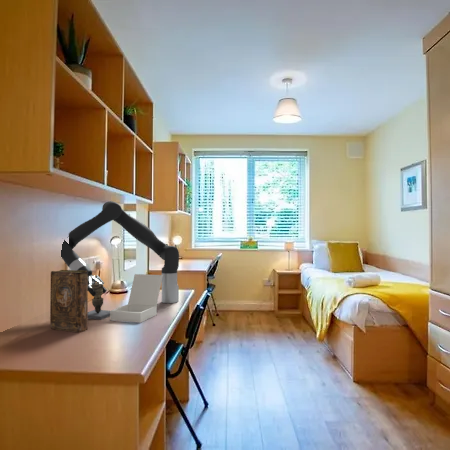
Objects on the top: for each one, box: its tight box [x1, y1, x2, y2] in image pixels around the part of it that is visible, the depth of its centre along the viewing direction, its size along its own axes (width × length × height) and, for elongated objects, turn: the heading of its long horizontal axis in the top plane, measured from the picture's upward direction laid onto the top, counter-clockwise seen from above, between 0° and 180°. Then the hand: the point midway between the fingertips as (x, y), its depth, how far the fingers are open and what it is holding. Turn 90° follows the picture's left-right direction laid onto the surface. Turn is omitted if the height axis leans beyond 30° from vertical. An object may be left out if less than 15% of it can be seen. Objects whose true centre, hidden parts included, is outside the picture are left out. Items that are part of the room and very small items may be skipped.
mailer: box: [109, 273, 163, 324], centre depth 179 cm, size 23×16×19 cm
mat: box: [88, 309, 111, 321], centre depth 179 cm, size 12×12×2 cm
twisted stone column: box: [91, 282, 104, 313], centre depth 179 cm, size 6×6×15 cm
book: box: [49, 269, 89, 333], centre depth 156 cm, size 16×6×25 cm, turn 70°
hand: (100, 293), depth 179 cm, fingers open, 8 cm apart
